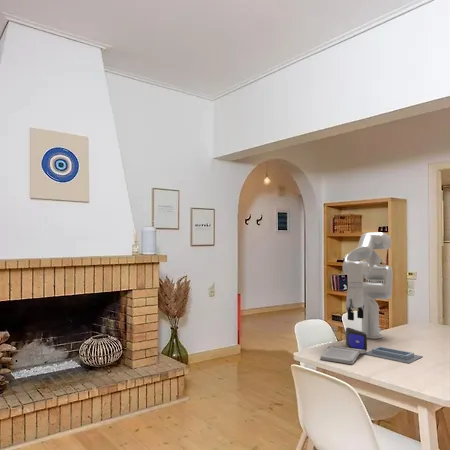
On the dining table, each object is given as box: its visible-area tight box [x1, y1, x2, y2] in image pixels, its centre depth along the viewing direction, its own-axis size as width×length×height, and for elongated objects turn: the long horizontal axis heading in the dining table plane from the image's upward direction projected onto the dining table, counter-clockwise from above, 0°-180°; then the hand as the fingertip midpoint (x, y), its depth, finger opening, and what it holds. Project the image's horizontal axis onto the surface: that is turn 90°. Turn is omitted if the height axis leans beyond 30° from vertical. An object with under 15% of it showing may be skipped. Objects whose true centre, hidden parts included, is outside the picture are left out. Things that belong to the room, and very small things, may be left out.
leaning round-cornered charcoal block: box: [345, 327, 368, 351], centre depth 212 cm, size 16×5×9 cm, turn 17°
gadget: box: [319, 345, 367, 365], centre depth 196 cm, size 23×15×4 cm, turn 146°
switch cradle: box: [362, 346, 424, 365], centre depth 198 cm, size 16×22×2 cm
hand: (355, 319), depth 212 cm, fingers open, 9 cm apart
